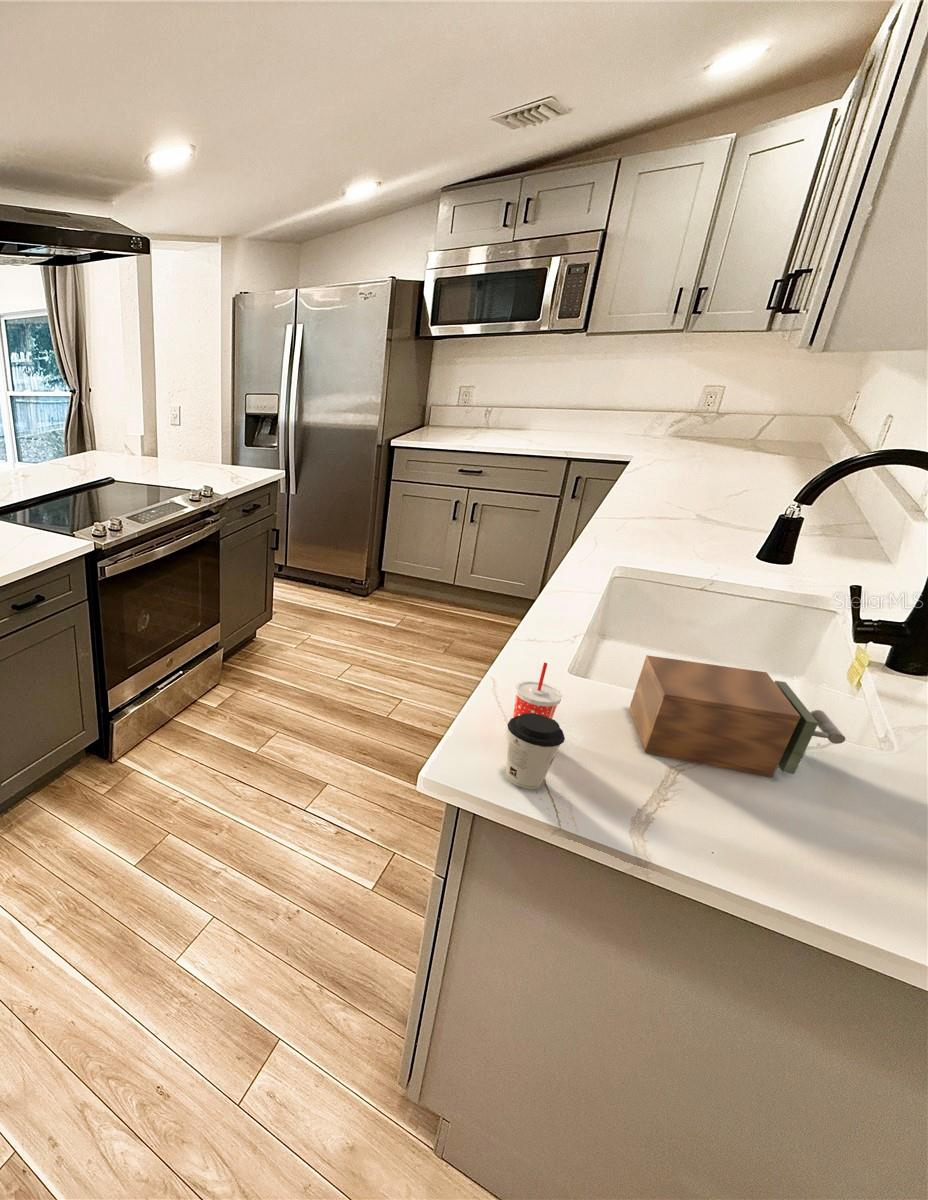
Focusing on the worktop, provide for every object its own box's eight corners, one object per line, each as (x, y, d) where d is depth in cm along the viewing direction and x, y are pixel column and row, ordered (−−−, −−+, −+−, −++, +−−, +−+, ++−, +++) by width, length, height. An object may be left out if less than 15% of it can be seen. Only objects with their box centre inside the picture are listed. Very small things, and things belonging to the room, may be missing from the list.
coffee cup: (503, 791, 88) (517, 734, 84) (491, 760, 95) (503, 706, 91) (558, 797, 87) (575, 740, 83) (542, 766, 93) (557, 711, 89)
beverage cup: (526, 723, 102) (544, 650, 97) (558, 745, 97) (580, 669, 91) (496, 731, 101) (512, 657, 95) (527, 753, 95) (547, 677, 90)
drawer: (803, 736, 94) (826, 687, 90) (837, 782, 85) (864, 730, 81) (655, 710, 102) (671, 665, 98) (672, 750, 93) (690, 702, 89)
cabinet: (742, 729, 98) (766, 672, 93) (772, 777, 88) (800, 716, 83) (628, 709, 104) (646, 655, 100) (644, 752, 94) (664, 694, 90)
